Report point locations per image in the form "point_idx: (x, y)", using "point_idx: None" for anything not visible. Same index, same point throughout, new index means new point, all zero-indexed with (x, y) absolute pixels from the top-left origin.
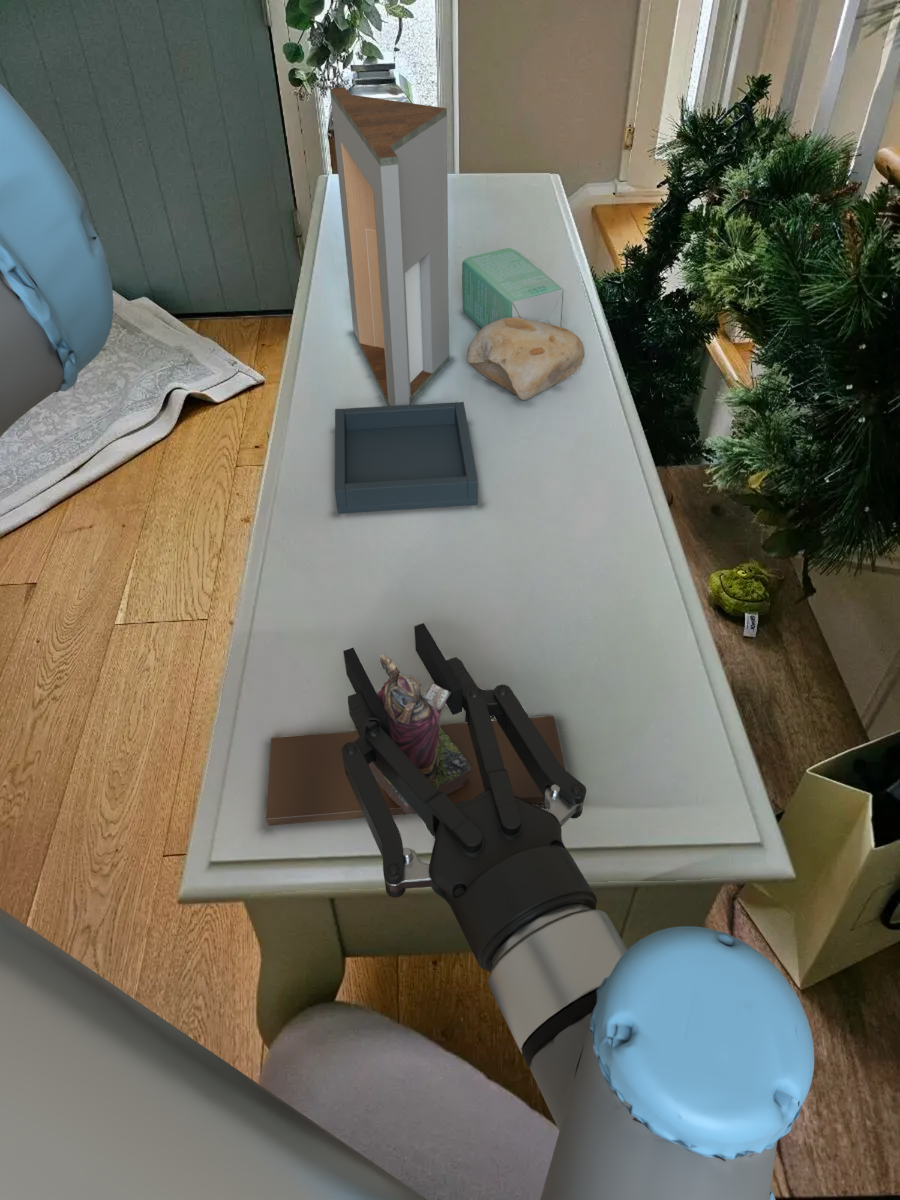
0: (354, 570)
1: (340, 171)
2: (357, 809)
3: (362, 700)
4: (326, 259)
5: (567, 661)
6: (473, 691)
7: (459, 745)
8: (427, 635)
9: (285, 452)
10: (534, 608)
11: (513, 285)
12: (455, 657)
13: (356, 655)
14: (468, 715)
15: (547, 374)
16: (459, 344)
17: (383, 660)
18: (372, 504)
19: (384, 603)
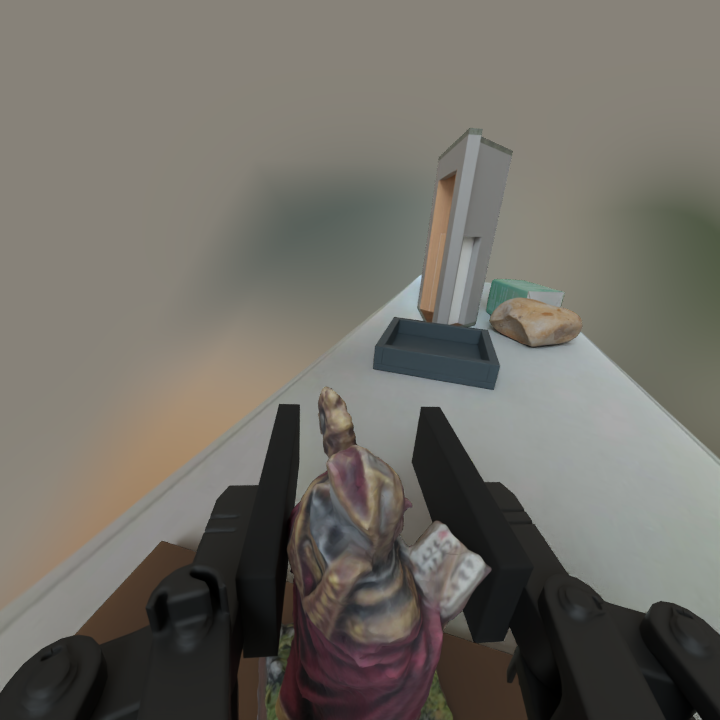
0: (370, 403)
1: (433, 203)
2: None
3: (251, 506)
4: (411, 288)
5: (640, 581)
6: (575, 594)
7: (453, 699)
8: (443, 424)
9: (352, 336)
10: (567, 489)
11: (528, 287)
12: (499, 483)
13: (296, 416)
14: (532, 672)
15: (554, 329)
16: (482, 321)
17: (322, 398)
18: (402, 366)
19: (388, 435)
